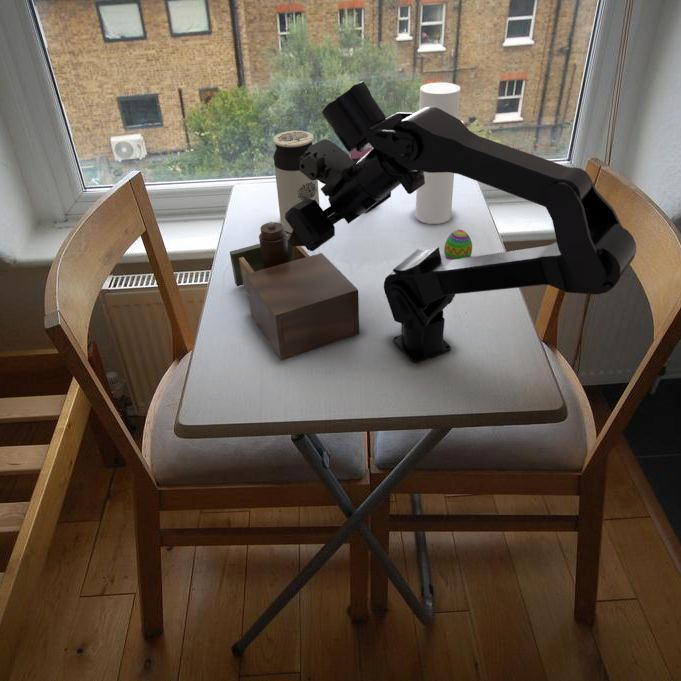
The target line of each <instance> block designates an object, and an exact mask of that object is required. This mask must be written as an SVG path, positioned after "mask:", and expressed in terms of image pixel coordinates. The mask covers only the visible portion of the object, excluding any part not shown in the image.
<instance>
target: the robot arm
mask: <svg viewBox="0 0 681 681" xmlns="http://www.w3.org/2000/svg"><path fill="white" fill-rule="evenodd" d="M321 115H322V117H323V118H324V120H325V121H326V123H328V126H329V127H330V129H332V131H333V133H334V134H335V136H336V137H337V138H338V140H339V141H340V143H341V144H342V145H343V147H344V148H345V150H346V151H347V152H348V153H349V154H348V153H347V152H346V151H345V150H344V149H342V147H340V146H338V145H337V144H336V143H335V142H333V141H332V140H330V139H328V138H322V139H321V140H318V141H316V142H315V143H312V145H311V146H309V148H308V150H307V151H305V152H304V155H303V156H301V157H300V158H299V161H300V165H299V169H300V171H301V172H302V173H303V174H304V175H305V176H307V177H308V178H309V179H310V180H312V181H313V180H316V179H317V180H318V182H319V183H321V184H322V185H323V184H324V185H323V186H322V187H321V188H320V191H321V192H322V193H323V195H324V197H328V198H327V199H328V202H329V205H330V206H328V207H326V208H325V209H324V210H323V209H322V207H321V205H320V203H319V204H318V203H317V202H316V200H314V199H311V198H306V199H305V200H303V201H301V202H300V203H298V204H296V205H295V206H293V207H292V208H291V209H289V210H288V211H287V212H286V213H285V219H286V221H287V222H288V223H289V225H290V226H291V228H292V229H293V231H292V233H290V235H291V236H290V235H289V236H290V238H289V242H290V243H291V245H292V246H301V247H305V248H306V250H307V251H310V252H314V251H315V250H317V249H318V248H320V247H321V246H323V245H324V244H326V243H327V242H328V241H330V240H331V239H333V237H335V236H336V231H335V230H336V228H335V226H334V225H335V224H337V223H338V222H340V221H342V220H343V219H344V220H345V222H346V223H347V225H349V224H350V223H352V222H353V221H355V220H356V219H358V218H359V217H361V216H362V215H364V214H368V213H370V212H371V211H372V210H375V209H376V208H377V207H379V206H381V205H382V204H384V203H385V202H386V201H388V199H390V198H391V197H392V192H393V191H394V190H395V189H396V188H398V187H399V186H400V185H401V186H402V187H403V189H404V190H405V192H406V193H407V194H409V195H411V194H413V193H414V192H415V191H416V190H417V189H418V188H420V187H421V186H423V185H424V184H425V177H424V172H428V173H442V172H450V173H454V175H455V174H456V175H460V176H463V177H465V178H468V179H470V180H474V181H476V182H479V183H481V184H484V185H487V186H489V187H491V188H494V189H497V190H500V191H502V192H504V193H507V194H509V195H513V196H515V197H517V198H521V199H523V200H526V201H528V202H531V203H534V204H535V205H539V206H542V207H544V208H545V209H546V211H547V212H548V214H549V216H550V218H551V221H552V226H553V230H554V234H555V235H554V236H555V239H556V241H555V242H553V243H551V244H549V245H542V246H536V247H529V248H522V249H516V250H509V251H502V252H496V253H495V252H494V253H488V254H482V255H476V256H475V255H474V256H470V257H468V258H461V259H454V260H449V259H446V257H444V256H442V255H441V250H440V247H439V246H436V247H432V248H429V249H427V250H426V249H425V250H423V249H418V248H417V249H416V250H415V251H413V252H412V253H411V254H410V255H409V256H407V257H406V258H405V259H404V260H402V261H401V262H400V263H399V264H398V265H396V266H395V267H394V268H393V269H392V272H391V273H390V274H388V275H387V276H386V277H385V279H384V280H383V290H384V294H385V297H386V299H387V302H388V306H389V308H390V312H391V315H392V318H393V321H394V322H396V323H400V324H401V326H400V328H401V329H400V330H401V334H398V335H396V336H393V337H392V342H393V343H394V344H395V345H396V346H397V347H398V349H399V350H400V351H402V352H403V354H404V355H405V356H406V357H407V358H408V359H409V360H410V361H411V362H412V363H414V364H418V363H420V362H423V361H426V360H429V359H432V358H435V357H437V356H439V355H443V354H445V353H449V352H450V351H451V350H452V346H451V345H450V344H449V343H448V342H447V341H446V340H445V339H444V331H445V317H444V309H445V308H447V306H448V305H450V304H451V303H452V302H453V300H454V299H455V297H456V295H461V294H470V293H471V294H472V293H479V292H480V293H481V292H490V291H499V290H500V291H501V290H509V289H510V290H511V289H521V288H530V287H540V286H550V287H553V288H554V289H558V290H559V291H562V292H564V293H568V294H579V295H580V294H581V295H601V294H606V293H608V292H611V290H612V289H613V288H614V287H615V286H616V285H617V283H619V281H620V279H621V278H622V277H623V275H624V274H625V272H626V270H627V269H628V268H629V266H630V264H631V263H632V262H633V260H634V258H635V257H636V254H637V242H636V241H635V240H636V239H635V238H634V236H633V234H631V233H630V231H629V230H628V229H626V228H625V227H623V225H622V223H621V221H620V219H619V217H618V215H617V213H616V211H615V209H614V208H613V206H612V205H611V204H610V203H609V202H608V201H607V200H606V199H605V198H604V197H603V196H602V194H601V193H600V192H599V191H598V189H597V188H596V186H595V184H594V182H593V180H592V178H591V176H590V175H589V174H588V172H587V171H586V170H584V169H583V168H580V167H571V166H566V165H564V164H560V163H557V162H554V161H552V160H548V159H546V158H543V157H541V156H537V155H534V154H532V153H529V152H525V151H523V150H520V149H517V148H514V147H511V146H509V145H506V144H502V143H500V142H497V141H494V140H491V139H488V138H486V137H482V136H480V135H478V134H476V133H474V132H472V131H471V130H470V129H469V128H468V127H467V126H466V125H465V124H464V123H463V122H462V120H461V119H459V118H458V119H457V118H455V117H453V116H452V115H450V114H448V113H446V112H445V111H443V110H441V109H439V108H436V107H426V108H423V109H421V110H419V109H418V111H416V112H408V111H407V112H405V111H404V112H403V111H398V112H396V113H394V114H392V115H390V116H388V117H387V116H386V114H385V113H384V111H383V110H382V109H381V106H380V105H379V104H378V103H377V102H376V100H375V98H374V96H373V95H372V93H371V91H370V89H369V87H368V86H367V84H366V83H365V82H364V81H360V82H358V83H355V84H353V85H352V86H350V88H349V89H348V90H347V91H345V92H344V93H342V94H341V95H339V96H338V97H337V98H336V99H335V100H332V101H331V102H329V103H328V104H326V106H325V107H324V108H323V109H322V112H321ZM368 147H369V148H370V147H371V148H372V150H371V151H369V152H368V153H367V154H366V155H365V156H364V157H363V158H362V159H360V160H358V161H357V162H356V163H355V162H354V161H353V160H352V159H351V158H350V152H352V151H353V150H354V149H355V148H356V150H357V152H358V153H360V152H362V151H363V150H365V149H366V148H368Z"/></svg>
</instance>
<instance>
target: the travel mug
mask: <svg viewBox="0 0 681 681" xmlns="http://www.w3.org/2000/svg"><path fill="white" fill-rule="evenodd" d="M314 139H315V138H314V135H313V134H312V133H311V132H308V131H305V130H288V131H283V132H279V133H278V134H276V135H275V136H274V137H273V139H272V142H273V143H274V145H275V148H276V149H275V151H274V154H273V164H274V171H275V172H274V175H275V183H276V192H277V201H278V210H279V219H280V223H281V224H282V225H283V229H284V231H285V232H286V233H290V234H291V233H292V231H293V229H292V228H291V226H290V225H289V223H288V222H287V221H286V219H285V213H286V212H287V211H288V210H289V209H291V208H292V207H293V206H295V205H296V204H298V203H300V202H301V201H303V200H305V199H306V198H311V199H314V200H316V202H317V203H318V204H319V205H320V194H319V180H317V179H316V180H313V181H312V180H310V179H309V178H308V177H307V176H305V175H304V174H303V173H302V172H301V171H300V169H299V165H300V161H299V158H300V157H301V156H303V155H304V152H305V151H307V150H308V148H309V146H311V145H313V141H314Z"/></svg>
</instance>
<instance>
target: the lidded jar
mask: <svg viewBox="0 0 681 681" xmlns="http://www.w3.org/2000/svg"><path fill="white" fill-rule="evenodd" d="M287 236H288V234H287V231H285V230H284V229H283V225H282V224H281V222H276V221H269V222H266V223H263V224H262V225H261V226H260V234H259V235H258V238H259V239H258V240H259V244H260V248H261V256H262V263H263V269H266V268H270V267H273V266H277V265H280V264H284V263H288V262H289V252H288V243H287Z"/></svg>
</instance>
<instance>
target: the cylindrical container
mask: <svg viewBox="0 0 681 681" xmlns="http://www.w3.org/2000/svg"><path fill="white" fill-rule="evenodd" d="M460 99H461V86H460V85H458V84H456V83H453V82H452V83H451V82H440V81H439V82H430V83H429V82H428V83H425V84H423V85H421V86H420V87H419V105H418V106H419V107H418V108H419V109H418V111H419V110H421V109H423V108H426V107H436V108H439V109H441V110H443V111H445V112H446V113H448V114H450V115H452V116H453V117H455V118H457V119H459V113H460ZM424 177H425V184H424V185H423V186H421V187H420V188H418V189H417V190H416V193H415V195H416V196H415V218H416V220H418V221H419V222H420V223H423V224H428V225H439V224H444V223H447V222H448V221H450V220H451V218H452V209H453V208H452V207H453V195H454V194H453V193H454V180H455V173H450V172H442V173H428V172H424Z"/></svg>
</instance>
